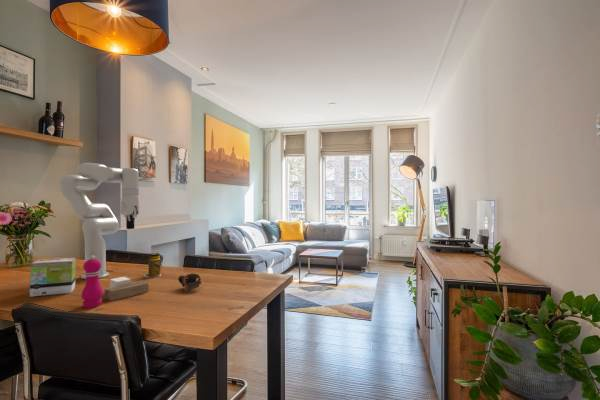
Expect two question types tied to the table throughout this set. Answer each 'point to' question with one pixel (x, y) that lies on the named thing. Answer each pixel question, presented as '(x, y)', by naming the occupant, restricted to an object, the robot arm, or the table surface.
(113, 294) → the board
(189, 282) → the pottery mug
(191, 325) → the table surface
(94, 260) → the pepper mill
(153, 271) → the condiment
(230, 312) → the table surface
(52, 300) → the table surface
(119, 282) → the block
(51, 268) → the tea box
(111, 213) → the robot arm
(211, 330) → the table surface
